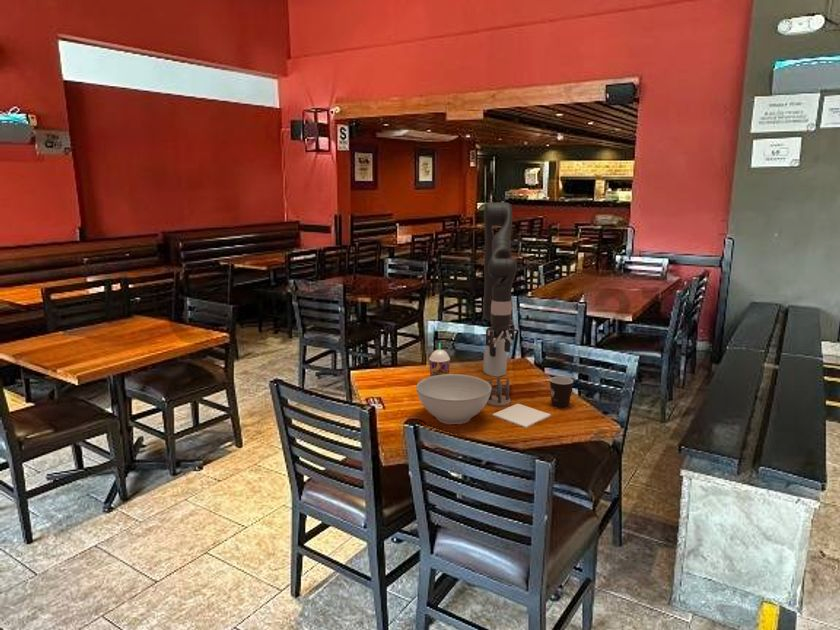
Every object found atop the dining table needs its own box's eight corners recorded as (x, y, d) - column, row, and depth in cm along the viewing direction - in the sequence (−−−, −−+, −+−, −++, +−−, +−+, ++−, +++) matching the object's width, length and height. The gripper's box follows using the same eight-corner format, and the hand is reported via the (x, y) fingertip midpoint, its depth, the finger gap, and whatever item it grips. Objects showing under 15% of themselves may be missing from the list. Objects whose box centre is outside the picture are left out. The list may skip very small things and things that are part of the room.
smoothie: (439, 395, 236) (439, 347, 232) (425, 390, 242) (424, 343, 238) (454, 390, 242) (454, 343, 237) (440, 385, 248) (440, 339, 243)
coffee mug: (572, 410, 221) (573, 384, 219) (548, 408, 223) (549, 383, 221) (571, 399, 232) (572, 374, 230) (548, 397, 234) (549, 373, 232)
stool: (482, 402, 229) (482, 379, 227) (497, 396, 235) (497, 374, 233) (500, 409, 223) (500, 385, 221) (515, 403, 229) (516, 379, 227)
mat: (492, 415, 217) (492, 414, 217) (517, 404, 227) (517, 403, 227) (525, 428, 206) (525, 426, 206) (551, 416, 216) (551, 414, 216)
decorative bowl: (472, 400, 232) (473, 370, 229) (503, 427, 207) (504, 394, 204) (407, 409, 223) (406, 378, 221) (431, 438, 199) (431, 404, 196)
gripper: (505, 307, 228) (504, 348, 232) (480, 313, 219) (479, 355, 222) (521, 310, 223) (519, 352, 227) (496, 316, 213) (495, 360, 217)
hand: (500, 354), depth 225 cm, fingers open, 8 cm apart
